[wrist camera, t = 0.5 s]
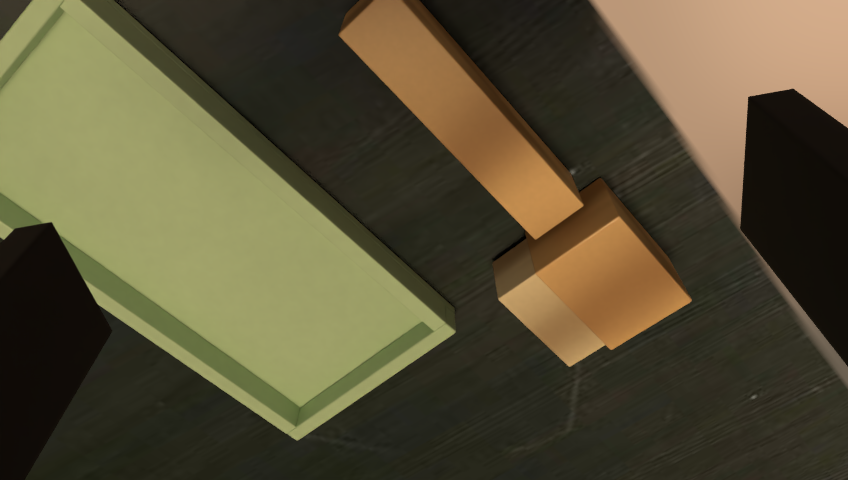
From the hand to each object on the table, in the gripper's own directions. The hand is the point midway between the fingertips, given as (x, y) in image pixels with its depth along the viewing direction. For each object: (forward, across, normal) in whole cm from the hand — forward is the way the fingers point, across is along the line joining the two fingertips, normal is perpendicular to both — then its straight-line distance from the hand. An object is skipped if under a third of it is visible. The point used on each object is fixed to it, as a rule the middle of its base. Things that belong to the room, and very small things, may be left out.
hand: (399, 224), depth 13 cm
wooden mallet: (+17, +3, -8) cm, 19 cm away
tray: (+17, -11, -8) cm, 22 cm away
